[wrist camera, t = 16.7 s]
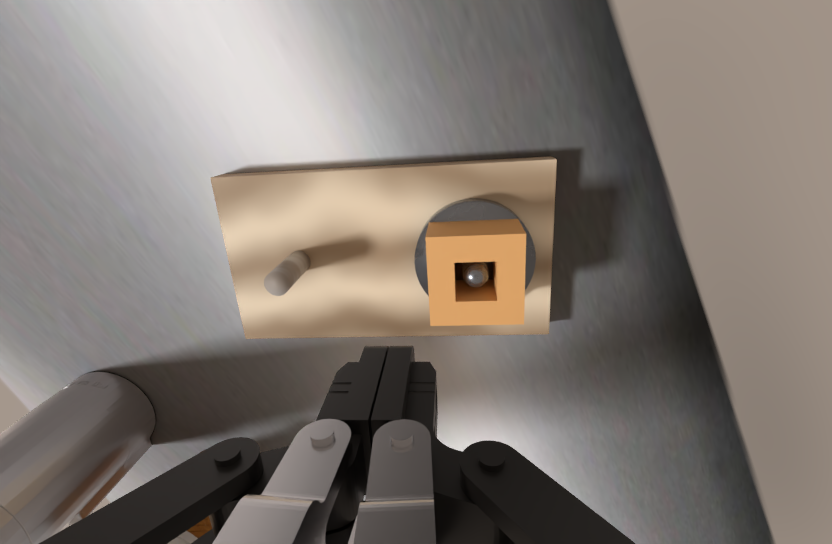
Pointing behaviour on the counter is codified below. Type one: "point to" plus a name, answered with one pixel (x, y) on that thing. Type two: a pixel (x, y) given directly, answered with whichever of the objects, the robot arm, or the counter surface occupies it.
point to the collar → (476, 244)
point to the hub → (471, 211)
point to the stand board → (367, 244)
